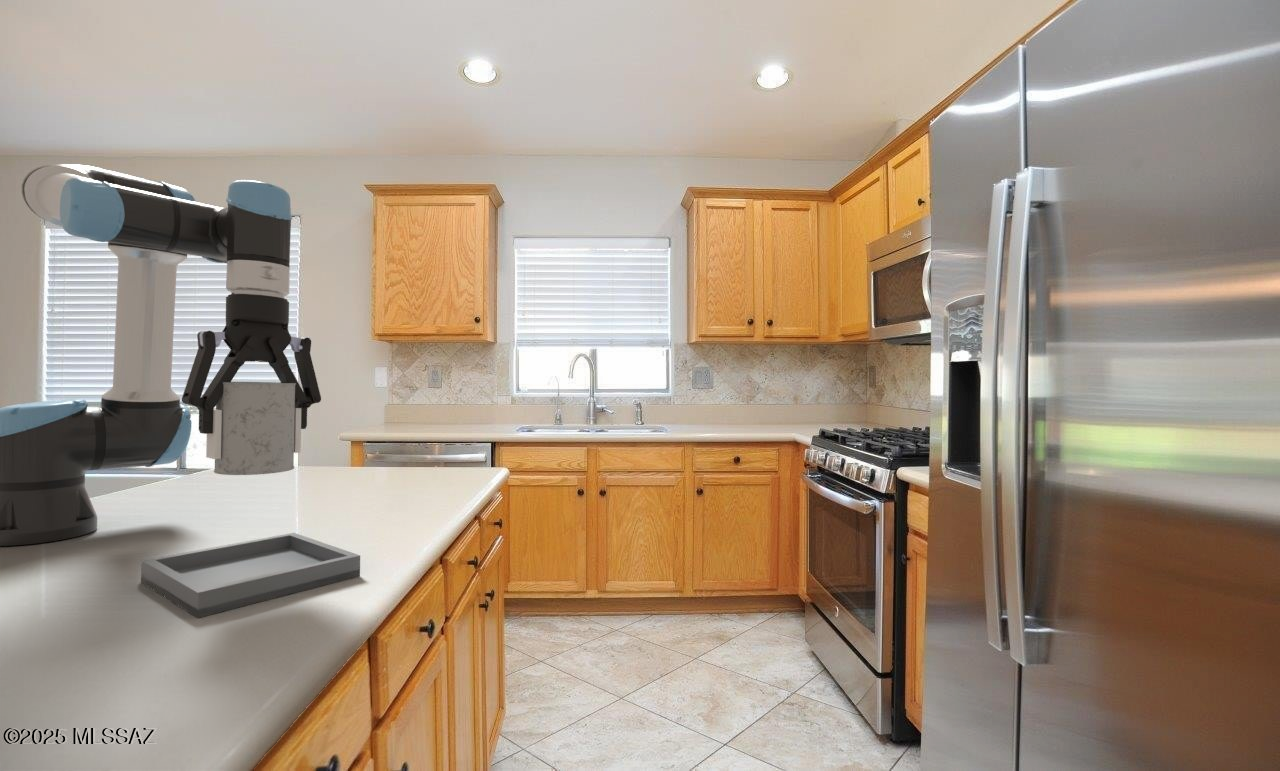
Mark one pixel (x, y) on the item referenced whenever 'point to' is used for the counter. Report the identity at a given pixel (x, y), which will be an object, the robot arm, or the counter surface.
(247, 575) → the tray
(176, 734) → the counter surface
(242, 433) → the speckled white tin can
